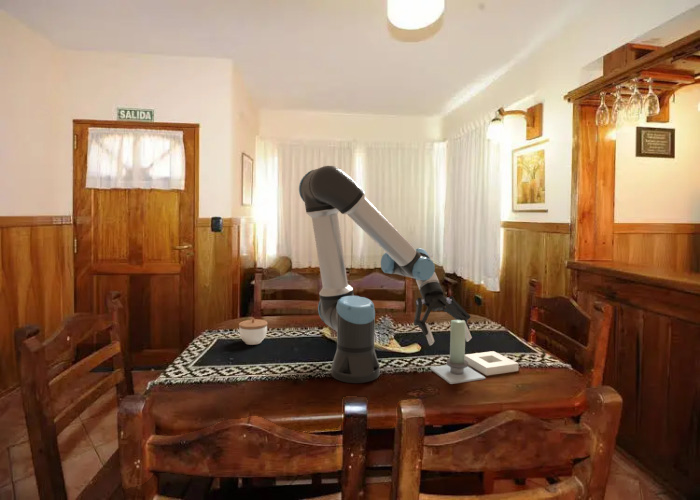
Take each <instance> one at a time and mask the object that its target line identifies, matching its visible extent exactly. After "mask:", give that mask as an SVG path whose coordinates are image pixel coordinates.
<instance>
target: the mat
mask: <svg viewBox="0 0 700 500" xmlns="http://www.w3.org/2000/svg"><path fill="white" fill-rule="evenodd" d="M429 370H431V371H432V372H433V373H435V374H436V375H437V376H438V377H440V378H441V379H443V380H444V381H446V382H447V383H448V384H450V385H453V384H461V383H468V382H473V381H474V382H476V381H482V380H486V377H485V376H484V374H481V373H480V372H479V371H477V370H475V369H474V368H471V367H469V366H468V367H466V368H464V373H463V374H460V375H457V374H453V373H451V372H450V366H448V365H447V364H445V365H437V366H431V367H429Z"/></svg>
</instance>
